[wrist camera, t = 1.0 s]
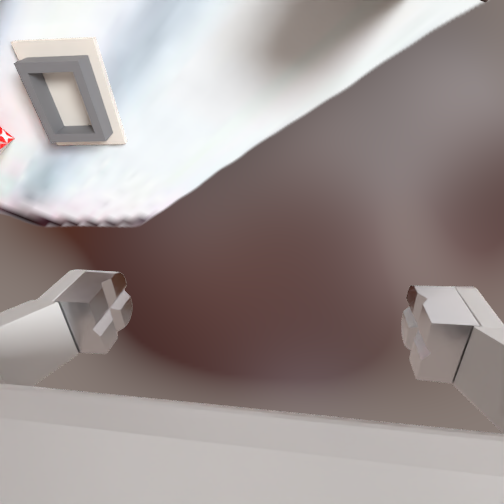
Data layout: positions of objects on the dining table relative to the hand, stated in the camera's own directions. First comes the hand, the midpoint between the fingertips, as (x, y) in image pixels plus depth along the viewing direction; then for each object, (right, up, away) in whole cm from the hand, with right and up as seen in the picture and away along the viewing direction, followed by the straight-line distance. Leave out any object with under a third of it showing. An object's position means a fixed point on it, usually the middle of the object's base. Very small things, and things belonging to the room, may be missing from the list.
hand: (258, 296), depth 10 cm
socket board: (-26, +24, +39) cm, 52 cm away
